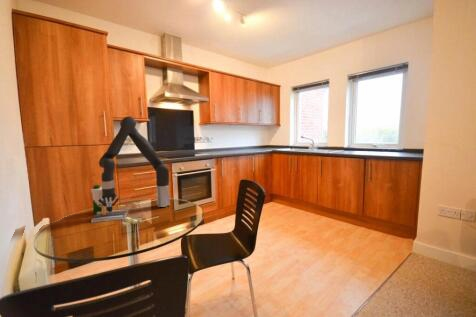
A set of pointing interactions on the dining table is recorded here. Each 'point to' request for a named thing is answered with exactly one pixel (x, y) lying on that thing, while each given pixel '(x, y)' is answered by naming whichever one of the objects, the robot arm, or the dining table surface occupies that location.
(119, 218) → the panel
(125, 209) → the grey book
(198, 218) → the dining table surface
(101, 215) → the breaker lever
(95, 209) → the milk carton
